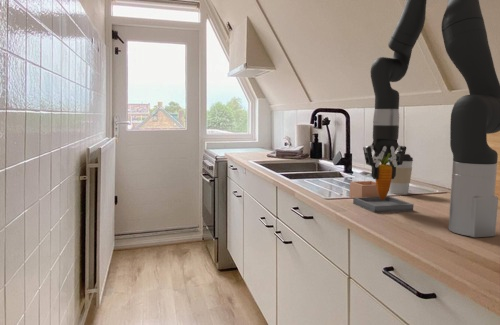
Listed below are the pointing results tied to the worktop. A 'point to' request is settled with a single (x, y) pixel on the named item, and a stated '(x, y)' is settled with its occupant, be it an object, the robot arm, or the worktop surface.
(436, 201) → the worktop surface
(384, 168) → the carrot
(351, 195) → the terracotta open box
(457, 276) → the worktop surface
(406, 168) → the coffee cup
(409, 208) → the charcoal tray
